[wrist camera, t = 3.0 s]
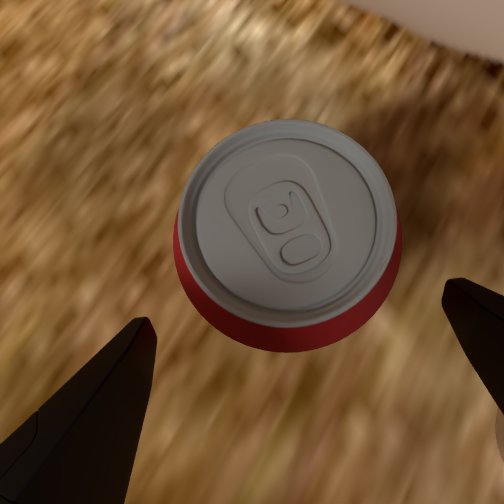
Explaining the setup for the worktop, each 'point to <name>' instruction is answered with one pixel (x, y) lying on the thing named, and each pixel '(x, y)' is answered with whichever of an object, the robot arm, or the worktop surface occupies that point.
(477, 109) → the worktop surface
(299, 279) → the beverage can
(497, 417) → the sugar jar
